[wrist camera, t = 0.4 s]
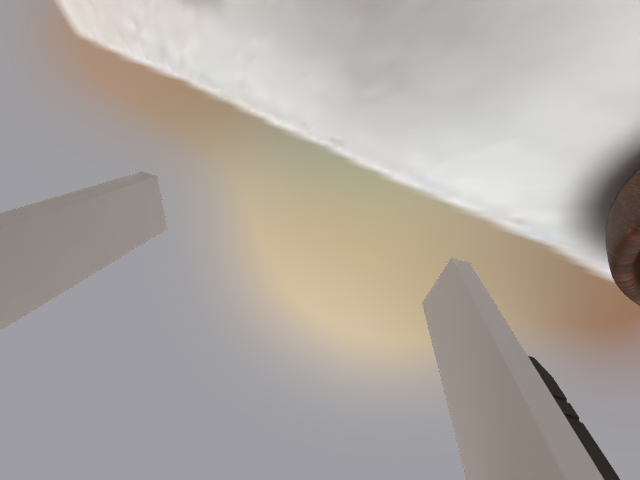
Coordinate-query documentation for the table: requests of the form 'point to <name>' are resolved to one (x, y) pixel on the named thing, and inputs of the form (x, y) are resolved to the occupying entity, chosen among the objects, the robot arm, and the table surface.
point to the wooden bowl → (625, 239)
